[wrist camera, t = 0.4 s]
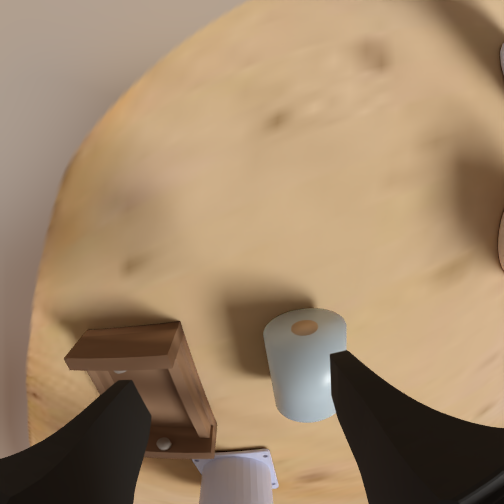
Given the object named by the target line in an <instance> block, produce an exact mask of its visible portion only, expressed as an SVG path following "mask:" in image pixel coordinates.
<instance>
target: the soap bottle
mask: <svg viewBox="0 0 504 504" xmlns="http://www.w3.org/2000/svg"><path fill="white" fill-rule="evenodd" d="M500 59H501V67H502V71H503V75H504V43H503V44H502V47H501V51H500Z"/></svg>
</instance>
